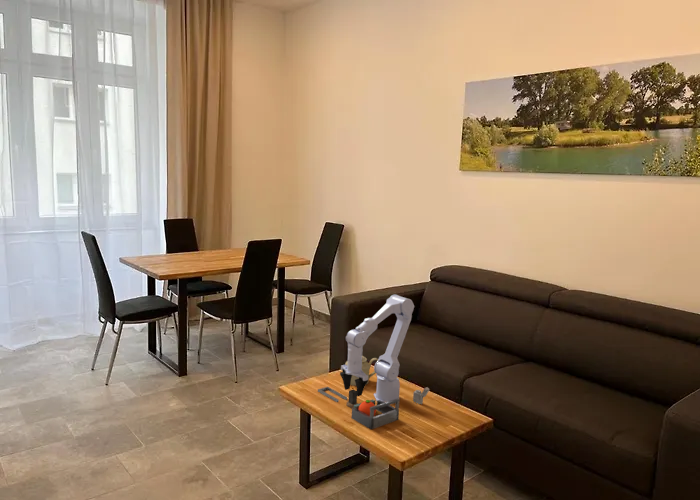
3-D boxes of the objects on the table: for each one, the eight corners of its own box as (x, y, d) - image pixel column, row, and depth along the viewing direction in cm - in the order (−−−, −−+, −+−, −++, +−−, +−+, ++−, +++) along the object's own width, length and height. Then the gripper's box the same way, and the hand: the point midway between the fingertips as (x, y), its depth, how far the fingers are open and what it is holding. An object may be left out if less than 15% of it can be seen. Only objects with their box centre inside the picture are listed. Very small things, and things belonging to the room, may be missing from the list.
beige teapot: (365, 373, 257) (367, 343, 255) (380, 381, 248) (382, 350, 246) (339, 379, 248) (341, 348, 246) (354, 388, 239) (356, 355, 237)
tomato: (357, 413, 214) (358, 395, 213) (375, 413, 214) (376, 396, 213) (358, 422, 206) (359, 404, 205) (376, 423, 207) (377, 405, 206)
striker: (339, 407, 218) (340, 392, 217) (358, 401, 225) (359, 386, 224) (355, 416, 211) (356, 400, 210) (374, 410, 217) (375, 394, 216)
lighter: (412, 401, 228) (413, 383, 227) (415, 400, 229) (416, 382, 228) (425, 407, 223) (427, 388, 222) (428, 406, 224) (429, 387, 223)
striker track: (317, 391, 233) (317, 389, 233) (327, 388, 237) (327, 386, 237) (337, 402, 223) (337, 400, 223) (347, 399, 227) (347, 397, 227)
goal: (351, 418, 209) (352, 397, 208) (378, 409, 219) (380, 389, 218) (370, 429, 201) (372, 408, 200) (398, 419, 210) (400, 399, 209)
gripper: (335, 356, 220) (334, 388, 222) (359, 367, 209) (357, 400, 211) (349, 353, 225) (347, 384, 227) (372, 363, 214) (370, 396, 216)
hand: (353, 392), depth 219 cm, fingers open, 7 cm apart
